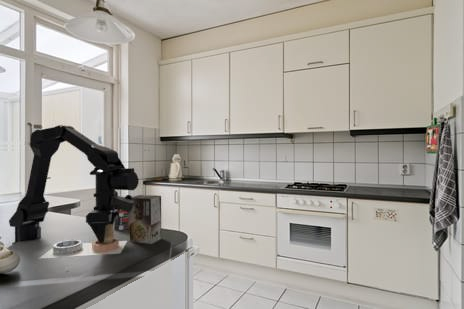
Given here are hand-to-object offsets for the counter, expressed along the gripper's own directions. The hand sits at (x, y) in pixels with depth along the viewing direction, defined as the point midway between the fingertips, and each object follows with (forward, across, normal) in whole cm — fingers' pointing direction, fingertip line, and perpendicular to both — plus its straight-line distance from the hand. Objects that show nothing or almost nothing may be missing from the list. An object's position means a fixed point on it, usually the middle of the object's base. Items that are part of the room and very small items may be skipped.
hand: (105, 238), depth 87 cm
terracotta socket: (+3, 0, 0) cm, 3 cm away
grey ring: (+3, 0, +11) cm, 11 cm away
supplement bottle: (+4, +23, 0) cm, 23 cm away
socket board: (+4, 0, +6) cm, 7 cm away
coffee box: (+4, +6, -12) cm, 14 cm away
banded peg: (+3, 0, 0) cm, 3 cm away
